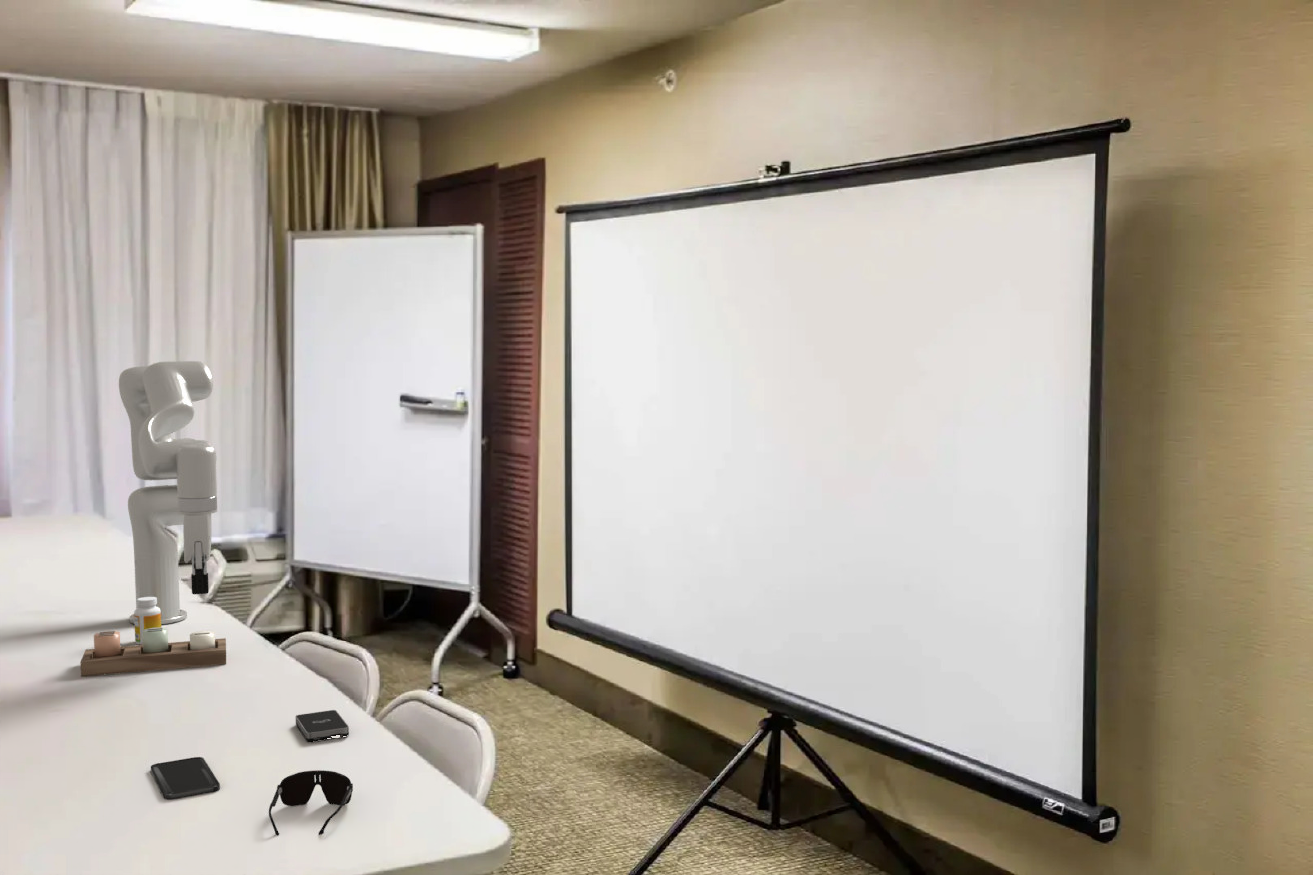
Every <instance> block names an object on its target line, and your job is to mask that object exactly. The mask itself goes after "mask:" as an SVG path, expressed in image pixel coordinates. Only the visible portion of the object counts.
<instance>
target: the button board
mask: <svg viewBox="0 0 1313 875" xmlns="http://www.w3.org/2000/svg"><path fill="white" fill-rule="evenodd" d="M120 651H121V653H119V654H117V655H113V656H106V657H99V656H95V654H94V648H90V649H89V648H87V649H85V650H84V653H83V655H82V657H81V660H80V663H79V664H80V677H93V676H104V674H106V675H115V674H116V675H117V674H127V673H128V674H129V673H140V672H150V671H153V672H154V671H162V670H163V671H164V670H173V669H183V668H184V669H185V668H197V667H198V668H199V667H205V666H206V667H210V666H219V665H226V664H227V639H226V637H224V638H215V648H211V649H199V650H190V640H187V641H174V642H168V649H167V650H165V651H162V652H154V653H148V652H143V645H139V644H137V645H128V646H127V645H125V646H120Z"/></svg>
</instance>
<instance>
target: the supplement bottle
mask: <svg viewBox="0 0 1313 875" xmlns="http://www.w3.org/2000/svg"><path fill="white" fill-rule="evenodd" d="M156 604H157V598H156V597H142V598H138V599H137V606H139V608H137V609H136V608H135V610H134V613H133V614H134V622H135V624H134V640H135V644H137V645H143V638H142V631H143V630H145V629H149V628H162V624H161V610H160V608H159V607H156Z"/></svg>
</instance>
